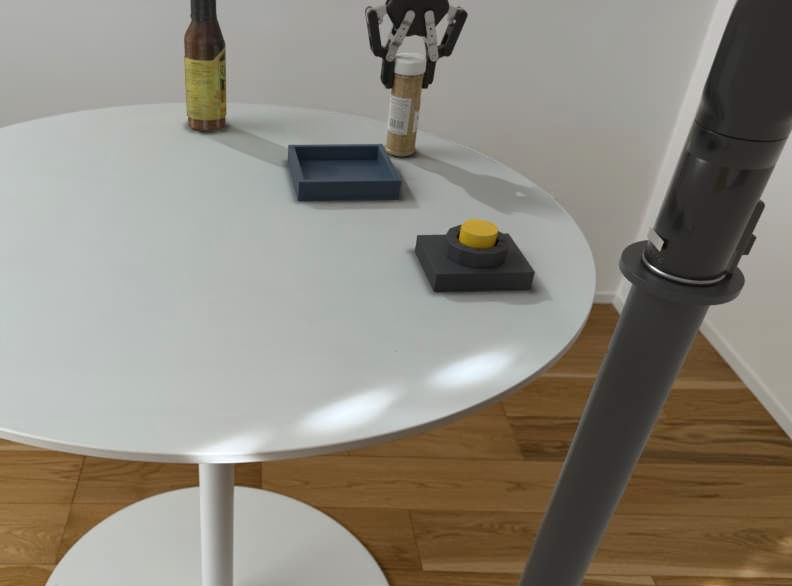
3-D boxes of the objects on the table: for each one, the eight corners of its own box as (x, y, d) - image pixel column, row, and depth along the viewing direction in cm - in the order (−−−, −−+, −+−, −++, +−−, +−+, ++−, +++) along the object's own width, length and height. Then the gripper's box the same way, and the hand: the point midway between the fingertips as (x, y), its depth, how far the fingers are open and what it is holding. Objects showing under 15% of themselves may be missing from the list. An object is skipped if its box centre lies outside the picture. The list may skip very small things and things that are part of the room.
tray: (380, 161, 114) (382, 143, 112) (399, 199, 104) (401, 180, 103) (287, 162, 113) (288, 144, 111) (297, 200, 103) (298, 182, 102)
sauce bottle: (230, 131, 122) (230, -10, 109) (190, 134, 120) (185, -9, 108) (221, 117, 126) (220, -21, 114) (183, 119, 125) (178, -19, 113)
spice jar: (421, 153, 116) (434, 57, 107) (397, 160, 114) (408, 63, 106) (401, 143, 119) (412, 49, 110) (377, 149, 117) (386, 55, 109)
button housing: (504, 249, 94) (512, 219, 91) (530, 289, 87) (539, 257, 85) (414, 251, 93) (419, 220, 91) (433, 291, 86) (439, 259, 84)
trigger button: (488, 232, 90) (491, 218, 88) (499, 249, 87) (503, 235, 85) (454, 233, 89) (457, 219, 88) (464, 250, 86) (467, 236, 85)
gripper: (375, -45, 97) (360, 96, 108) (488, -44, 98) (462, 95, 109) (364, -56, 102) (351, 79, 113) (471, -56, 103) (448, 78, 114)
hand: (405, 86), depth 111 cm, fingers closed on spice jar, 4 cm apart
